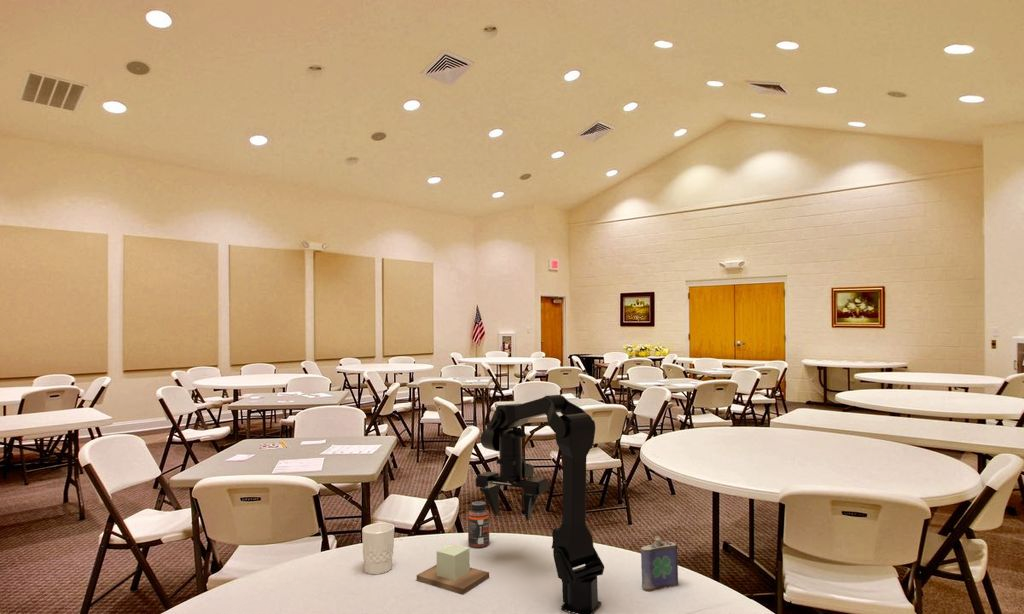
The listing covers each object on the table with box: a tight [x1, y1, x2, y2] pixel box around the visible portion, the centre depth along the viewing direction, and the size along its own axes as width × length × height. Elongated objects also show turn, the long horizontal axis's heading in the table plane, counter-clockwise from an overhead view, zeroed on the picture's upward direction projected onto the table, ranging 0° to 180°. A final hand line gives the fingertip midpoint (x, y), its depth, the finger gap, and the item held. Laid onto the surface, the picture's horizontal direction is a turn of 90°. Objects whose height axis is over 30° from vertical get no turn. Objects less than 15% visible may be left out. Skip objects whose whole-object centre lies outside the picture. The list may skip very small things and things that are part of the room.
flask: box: [640, 535, 679, 592], centre depth 117 cm, size 9×3×11 cm, turn 109°
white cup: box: [361, 522, 395, 575], centre depth 129 cm, size 8×8×10 cm
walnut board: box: [416, 564, 490, 595], centre depth 122 cm, size 14×10×1 cm
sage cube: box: [436, 543, 470, 581], centre depth 122 cm, size 6×6×6 cm
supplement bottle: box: [467, 500, 490, 549], centre depth 144 cm, size 6×6×11 cm
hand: (512, 517), depth 129 cm, fingers open, 9 cm apart
